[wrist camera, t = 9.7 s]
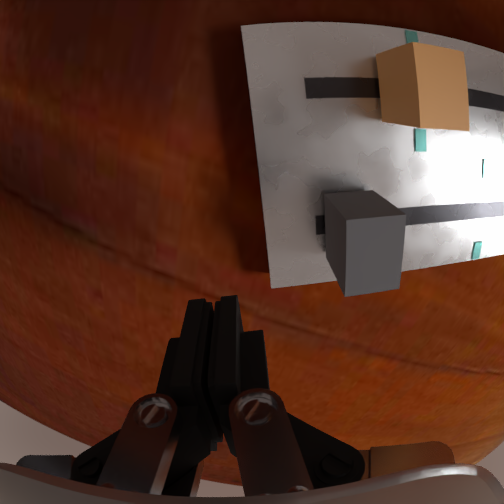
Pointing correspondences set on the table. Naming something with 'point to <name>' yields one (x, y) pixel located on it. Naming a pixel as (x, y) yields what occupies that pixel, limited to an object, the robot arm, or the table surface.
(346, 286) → the fader
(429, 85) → the fader
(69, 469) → the robot arm
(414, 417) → the table surface
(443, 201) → the console
